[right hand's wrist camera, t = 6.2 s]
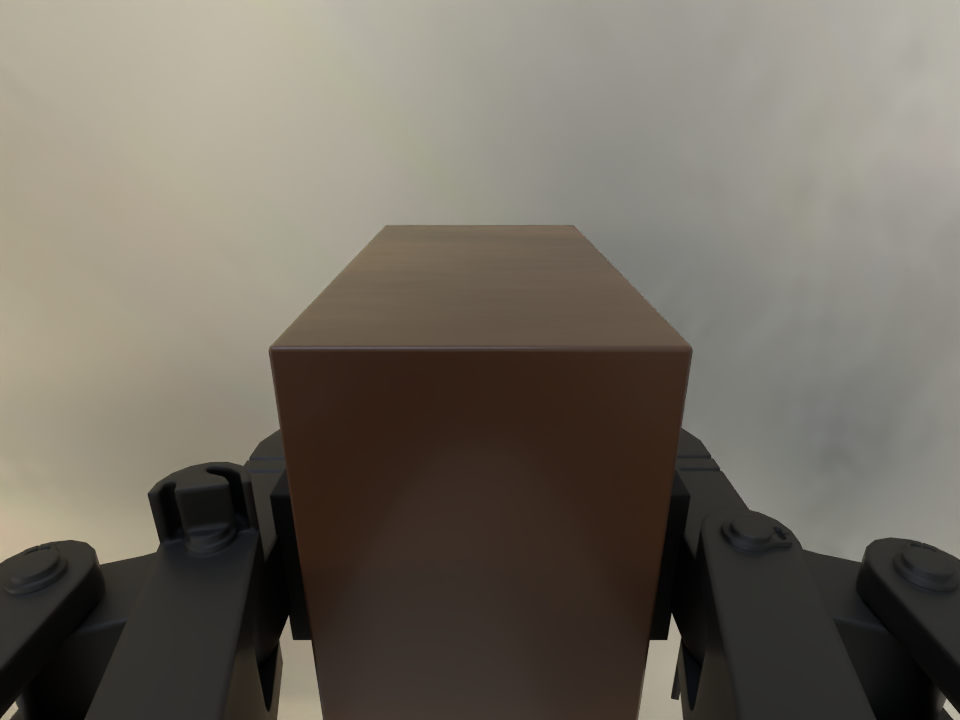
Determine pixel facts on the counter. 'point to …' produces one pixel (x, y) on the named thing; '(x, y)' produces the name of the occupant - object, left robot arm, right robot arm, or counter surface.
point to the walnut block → (480, 475)
